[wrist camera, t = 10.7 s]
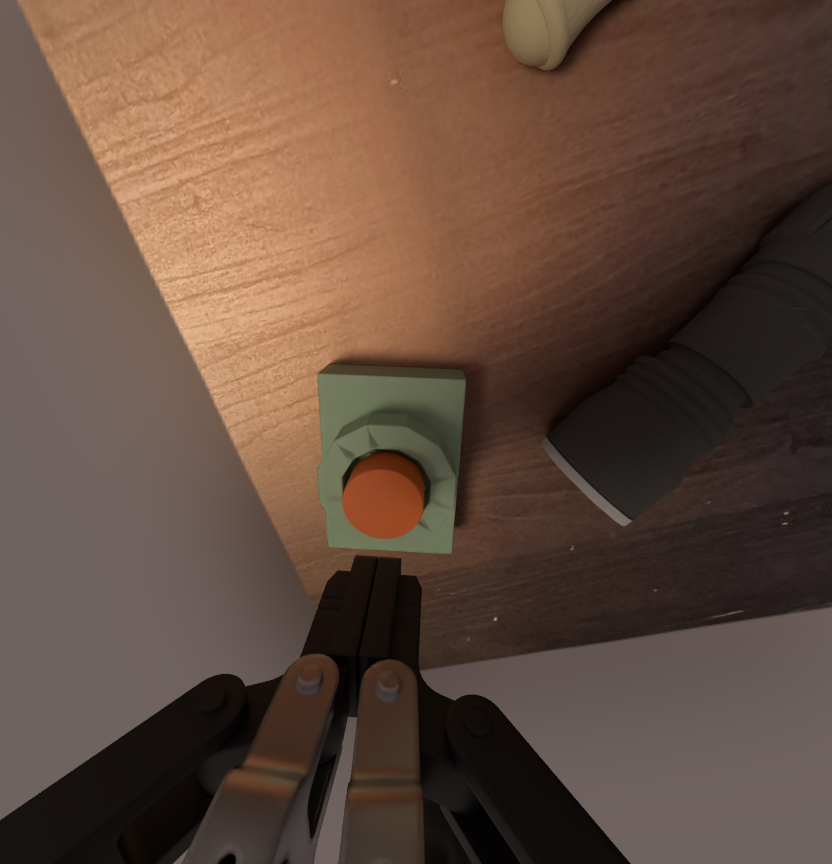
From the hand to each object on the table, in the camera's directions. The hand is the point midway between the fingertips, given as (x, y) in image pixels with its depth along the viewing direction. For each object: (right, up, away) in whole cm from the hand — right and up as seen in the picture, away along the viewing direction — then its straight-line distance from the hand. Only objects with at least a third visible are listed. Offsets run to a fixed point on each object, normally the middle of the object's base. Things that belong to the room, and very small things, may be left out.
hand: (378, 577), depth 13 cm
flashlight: (+14, +8, +7) cm, 18 cm away
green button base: (0, +4, +9) cm, 10 cm away
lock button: (0, +2, +6) cm, 6 cm away
